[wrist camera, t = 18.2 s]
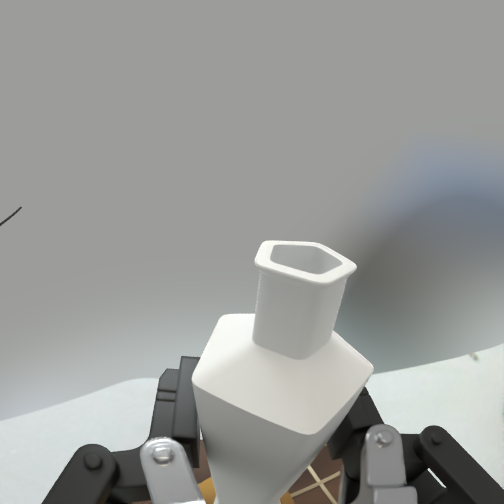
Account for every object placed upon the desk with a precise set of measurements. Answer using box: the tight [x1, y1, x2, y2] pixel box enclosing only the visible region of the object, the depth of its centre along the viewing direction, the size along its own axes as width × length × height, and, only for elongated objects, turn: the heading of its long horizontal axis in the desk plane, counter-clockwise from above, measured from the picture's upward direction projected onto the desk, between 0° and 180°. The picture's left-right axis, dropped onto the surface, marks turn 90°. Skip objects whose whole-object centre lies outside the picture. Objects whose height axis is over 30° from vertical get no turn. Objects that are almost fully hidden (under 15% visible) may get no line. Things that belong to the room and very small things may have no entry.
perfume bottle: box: [192, 241, 374, 504], centre depth 8 cm, size 5×4×15 cm
